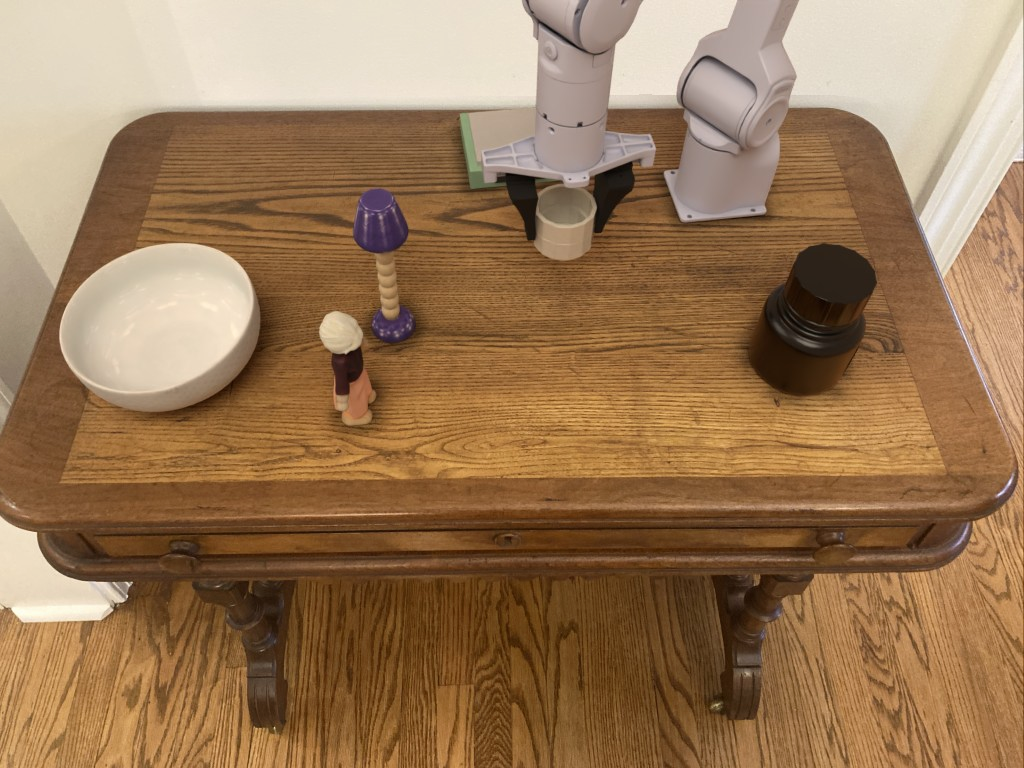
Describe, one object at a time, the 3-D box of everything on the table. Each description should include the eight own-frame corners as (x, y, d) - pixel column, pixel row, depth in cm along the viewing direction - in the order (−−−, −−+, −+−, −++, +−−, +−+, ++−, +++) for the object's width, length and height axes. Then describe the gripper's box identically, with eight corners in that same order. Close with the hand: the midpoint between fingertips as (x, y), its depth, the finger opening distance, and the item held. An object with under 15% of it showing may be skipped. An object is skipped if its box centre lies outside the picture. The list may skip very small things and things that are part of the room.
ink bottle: (865, 375, 80) (917, 289, 70) (795, 416, 77) (838, 333, 67) (793, 307, 84) (832, 217, 75) (725, 344, 82) (755, 256, 72)
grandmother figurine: (337, 377, 79) (312, 285, 69) (379, 374, 79) (361, 282, 69) (334, 448, 75) (307, 361, 64) (379, 445, 75) (359, 358, 64)
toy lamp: (427, 317, 83) (413, 186, 70) (408, 353, 81) (390, 224, 67) (382, 304, 84) (359, 172, 70) (362, 339, 82) (334, 209, 68)
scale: (553, 123, 101) (554, 100, 98) (569, 181, 95) (571, 159, 92) (460, 131, 100) (459, 108, 97) (470, 190, 94) (469, 168, 91)
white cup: (585, 217, 82) (589, 180, 78) (597, 261, 79) (602, 224, 75) (527, 223, 81) (528, 186, 78) (537, 267, 78) (539, 231, 74)
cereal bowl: (110, 294, 85) (82, 244, 79) (280, 288, 85) (264, 237, 79) (69, 441, 75) (33, 395, 69) (261, 433, 75) (242, 386, 70)
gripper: (488, 146, 65) (490, 269, 76) (674, 128, 66) (649, 252, 77) (476, 89, 69) (480, 214, 80) (651, 73, 70) (631, 198, 81)
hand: (562, 229), depth 79 cm, fingers closed on white cup, 5 cm apart
